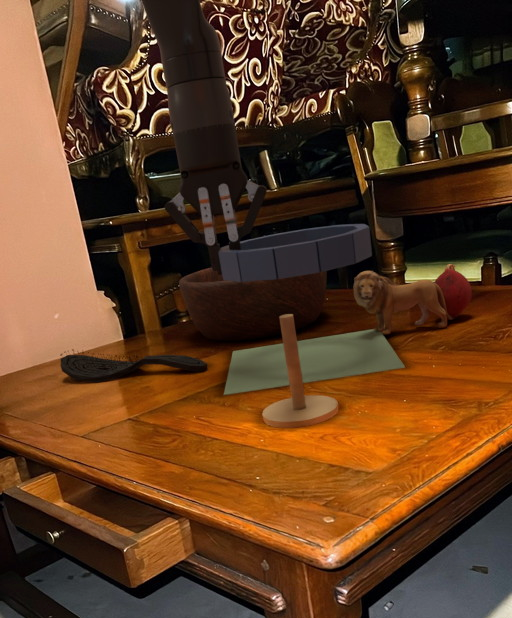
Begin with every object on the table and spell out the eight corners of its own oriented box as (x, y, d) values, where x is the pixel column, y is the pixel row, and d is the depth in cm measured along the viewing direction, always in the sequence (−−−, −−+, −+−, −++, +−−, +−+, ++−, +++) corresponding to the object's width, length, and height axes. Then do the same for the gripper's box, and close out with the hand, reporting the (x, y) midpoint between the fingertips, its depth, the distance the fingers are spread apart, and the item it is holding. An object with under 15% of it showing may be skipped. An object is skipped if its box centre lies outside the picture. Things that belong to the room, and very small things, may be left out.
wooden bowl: (162, 341, 122) (149, 283, 118) (267, 307, 136) (259, 254, 132) (252, 352, 104) (241, 283, 100) (363, 312, 118) (357, 250, 114)
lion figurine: (362, 340, 97) (358, 275, 93) (350, 333, 101) (346, 270, 98) (460, 325, 99) (461, 261, 95) (444, 319, 103) (444, 257, 100)
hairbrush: (189, 359, 94) (45, 358, 104) (193, 385, 95) (51, 381, 106) (217, 343, 101) (79, 343, 111) (220, 367, 102) (84, 366, 113)
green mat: (379, 332, 103) (378, 328, 103) (405, 371, 82) (405, 367, 82) (233, 354, 105) (232, 351, 104) (224, 399, 84) (223, 394, 84)
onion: (467, 323, 99) (464, 266, 96) (427, 325, 102) (423, 270, 99) (476, 313, 104) (474, 259, 101) (438, 315, 107) (435, 262, 104)
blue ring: (360, 246, 97) (358, 220, 95) (380, 262, 79) (377, 231, 78) (228, 268, 98) (224, 242, 97) (219, 288, 81) (213, 258, 80)
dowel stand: (335, 401, 77) (323, 302, 73) (342, 425, 69) (329, 317, 65) (264, 411, 77) (248, 314, 73) (263, 437, 70) (245, 330, 66)
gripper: (260, 118, 86) (280, 260, 92) (152, 137, 87) (180, 277, 93) (259, 113, 79) (281, 268, 85) (142, 134, 80) (173, 285, 86)
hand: (228, 272), depth 89 cm, fingers closed on blue ring, 1 cm apart
